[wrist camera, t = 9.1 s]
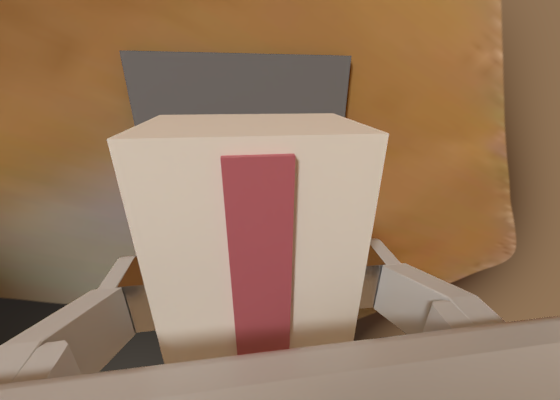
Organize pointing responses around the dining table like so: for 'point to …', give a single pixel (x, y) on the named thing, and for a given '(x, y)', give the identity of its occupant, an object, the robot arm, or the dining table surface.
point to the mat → (234, 83)
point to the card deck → (250, 227)
